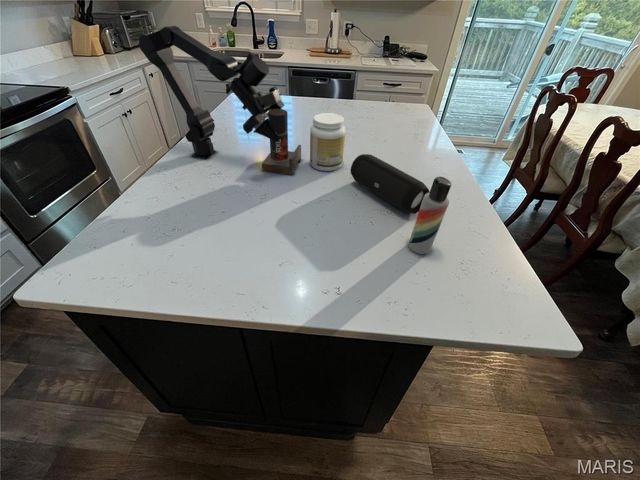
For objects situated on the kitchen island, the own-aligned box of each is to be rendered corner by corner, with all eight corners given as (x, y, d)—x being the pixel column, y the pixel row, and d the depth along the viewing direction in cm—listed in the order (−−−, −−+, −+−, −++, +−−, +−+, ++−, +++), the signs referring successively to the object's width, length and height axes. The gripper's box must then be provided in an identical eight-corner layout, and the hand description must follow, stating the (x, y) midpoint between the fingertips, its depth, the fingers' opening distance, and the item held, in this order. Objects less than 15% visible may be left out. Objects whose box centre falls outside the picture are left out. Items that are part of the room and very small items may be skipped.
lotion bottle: (405, 240, 79) (426, 173, 66) (425, 239, 79) (450, 173, 66) (412, 255, 75) (435, 186, 61) (433, 254, 75) (461, 186, 62)
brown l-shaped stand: (262, 171, 104) (260, 155, 100) (273, 156, 113) (272, 141, 109) (292, 175, 102) (291, 159, 98) (301, 160, 111) (301, 145, 107)
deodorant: (285, 152, 104) (284, 108, 94) (290, 159, 100) (289, 114, 90) (268, 154, 102) (266, 109, 92) (273, 162, 98) (270, 116, 88)
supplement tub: (349, 164, 110) (354, 118, 99) (327, 176, 103) (330, 127, 92) (325, 154, 116) (327, 109, 105) (302, 163, 109) (302, 117, 98)
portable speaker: (347, 183, 100) (350, 155, 93) (368, 175, 105) (372, 148, 98) (404, 221, 85) (413, 191, 79) (426, 210, 90) (435, 181, 83)
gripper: (247, 86, 79) (285, 134, 84) (277, 72, 93) (309, 113, 98) (226, 111, 86) (263, 154, 91) (257, 95, 100) (288, 133, 105)
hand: (282, 137), depth 96 cm, fingers closed on deodorant, 6 cm apart
